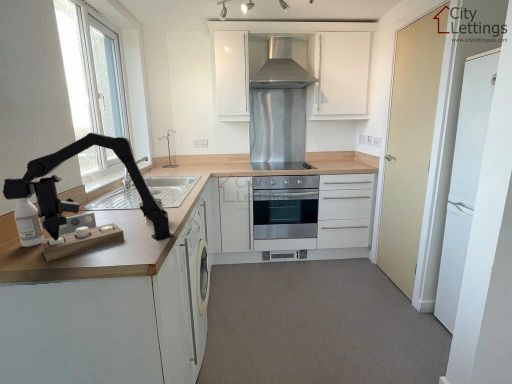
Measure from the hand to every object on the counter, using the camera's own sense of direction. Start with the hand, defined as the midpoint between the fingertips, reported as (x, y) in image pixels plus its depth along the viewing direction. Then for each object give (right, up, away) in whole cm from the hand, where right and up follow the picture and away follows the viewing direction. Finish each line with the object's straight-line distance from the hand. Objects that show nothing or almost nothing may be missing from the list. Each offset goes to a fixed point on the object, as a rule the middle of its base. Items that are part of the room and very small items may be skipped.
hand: (56, 239), depth 96 cm
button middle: (+6, -1, +6) cm, 8 cm away
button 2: (+12, -1, +11) cm, 16 cm away
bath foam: (-16, -3, +10) cm, 19 cm away
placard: (-3, -1, +16) cm, 17 cm away
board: (+6, -3, +6) cm, 9 cm away
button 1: (0, -4, +1) cm, 4 cm away
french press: (+22, +3, +31) cm, 38 cm away
